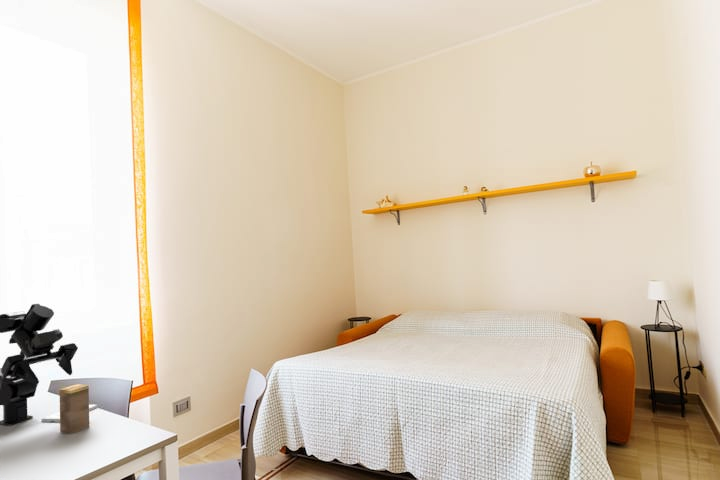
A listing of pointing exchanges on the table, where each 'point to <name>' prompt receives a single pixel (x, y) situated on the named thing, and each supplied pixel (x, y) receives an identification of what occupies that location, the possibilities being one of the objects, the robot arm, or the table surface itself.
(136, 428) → the table surface
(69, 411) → the walnut block
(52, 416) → the external hard drive
